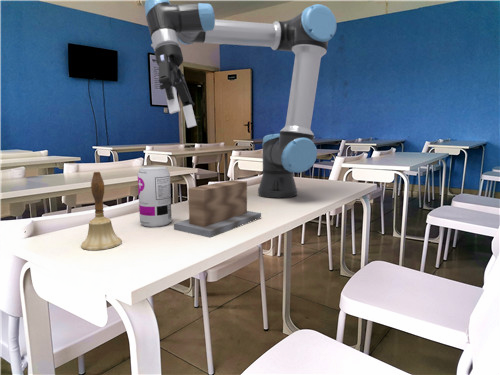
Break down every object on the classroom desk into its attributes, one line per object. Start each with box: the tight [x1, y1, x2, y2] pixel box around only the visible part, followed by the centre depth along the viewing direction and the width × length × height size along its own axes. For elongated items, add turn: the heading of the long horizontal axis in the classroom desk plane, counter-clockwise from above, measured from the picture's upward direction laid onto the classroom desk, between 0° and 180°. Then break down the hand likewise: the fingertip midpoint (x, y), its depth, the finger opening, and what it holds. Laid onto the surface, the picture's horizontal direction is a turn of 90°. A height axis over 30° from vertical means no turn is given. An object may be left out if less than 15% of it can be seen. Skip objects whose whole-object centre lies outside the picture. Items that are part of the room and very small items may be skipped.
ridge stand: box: [173, 179, 262, 238], centre depth 93 cm, size 22×12×10 cm, turn 145°
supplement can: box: [137, 166, 173, 228], centre depth 92 cm, size 8×8×15 cm
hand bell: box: [80, 171, 123, 251], centre depth 75 cm, size 8×8×16 cm
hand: (184, 119), depth 96 cm, fingers open, 13 cm apart
